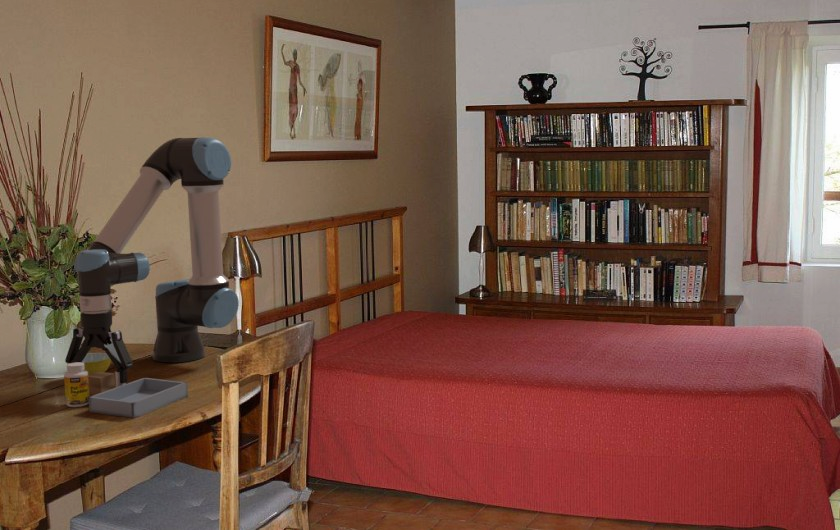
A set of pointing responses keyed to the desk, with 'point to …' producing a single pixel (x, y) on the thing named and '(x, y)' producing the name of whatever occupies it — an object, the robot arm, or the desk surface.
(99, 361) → the bowl
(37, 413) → the desk surface
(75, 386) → the supplement bottle
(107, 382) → the walnut cube
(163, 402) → the tray
